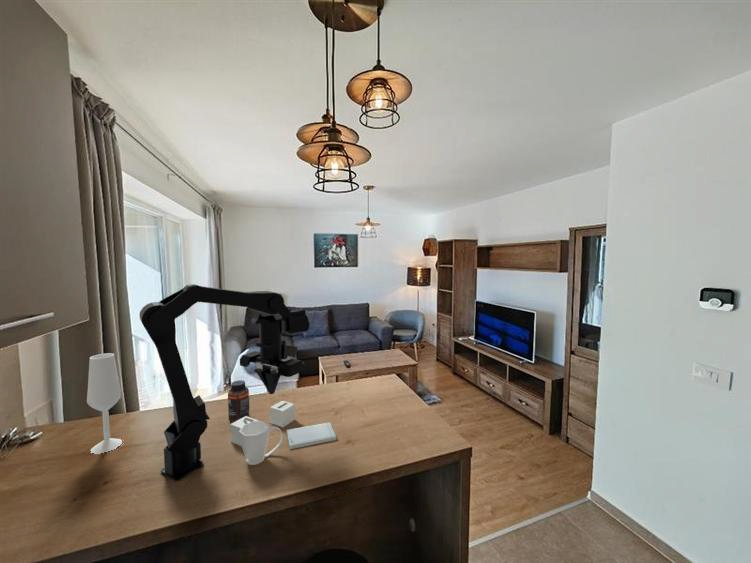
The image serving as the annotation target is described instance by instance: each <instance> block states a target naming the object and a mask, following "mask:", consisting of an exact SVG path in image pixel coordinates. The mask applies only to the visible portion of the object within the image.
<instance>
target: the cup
mask: <svg viewBox="0 0 751 563" xmlns="http://www.w3.org/2000/svg"><path fill="white" fill-rule="evenodd" d="M274 430H277V431H278V432H279V433H280V440H279V442H278V443H277V445H276V446H274V448H273V449H271V450H270V451H269V452H267V453H266V450H267V446H268V441H269V436H270V434H269V433H270V432H272V431H274ZM239 433H240V438H241V443H242V446H241V447H242V448H241V449H242V451H243V455H244V457H245V459H246V460H245V463H247V464H248V465H249V466H255V465H259V464H261V463H262V462H264V460H265V458H268V457H270V456H271V455H272V454H273V453H274V452H275V451H277V450H278V448H280V446H281V445H282V442H283V440H284V437H283V433H282V430H281V428H279V426H277V425H273V426H271V423H268V422H267V421H265V420H259V421H253V422H250V423H248V424H245V425H243V426H242V428H241V429H240V431H239Z"/></svg>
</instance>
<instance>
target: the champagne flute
mask: <svg viewBox="0 0 751 563" xmlns="http://www.w3.org/2000/svg"><path fill="white" fill-rule="evenodd" d="M88 362H89V363H88V364H89V365H88V379H87V381H88V382H87V394H86V403H87V405H88V406H89V407H91V408H92V409H94V410H96V411H99V412H102V427H103V428H102V429H103V440H102V441H100V442H99V443H97V444H96V445H94V446H92V448H91V449H90V451H91V452H90V454H92V453H94V454H93V455H100V454H101V453H103V454H105V453H104V452H107V453H109V452H108V451H110V452H112V451H111V450H113V451H115V450H117V449H118V448H117V447H118V446H120V445H121V444H122V440H123V439H122V438H115V437H114V438H112V437H111V435H110V434H111V433H110V430H111V429H110V414H109V410H110V409H111V408H113V407H114V406H115V405H116V404H117V403H118V402H119V400H120V399H121V397H122V391H121V385H120V380H119V375H118V369H117V364H116V363H117V362H116V357H115V353H111V352H108V353H100V354H95V355H92V356H90V357H89V361H88ZM121 439H122V440H121ZM122 445H123V444H122ZM122 445H121V446H122ZM121 446H120V447H121ZM116 448H117V449H116ZM114 449H115V450H114ZM101 455H102V454H101Z"/></svg>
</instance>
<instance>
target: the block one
mask: <svg viewBox="0 0 751 563" xmlns="http://www.w3.org/2000/svg"><path fill="white" fill-rule="evenodd" d="M295 408H296V407H295V403H292V402H289V401H285V400H281V401H278V402H277V403H275V404H274V405H272V406H270V408H269V412H270V414H269V418H270V420H269V421H270V423H269V424H270V425H271V424H272V425H273V426H276V427H280V428H284V427H286V426H288V425H289V424H291V423H292V422H293V421H295V420H296V417H295V416H296V414H295V410H296V409H295Z"/></svg>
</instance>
